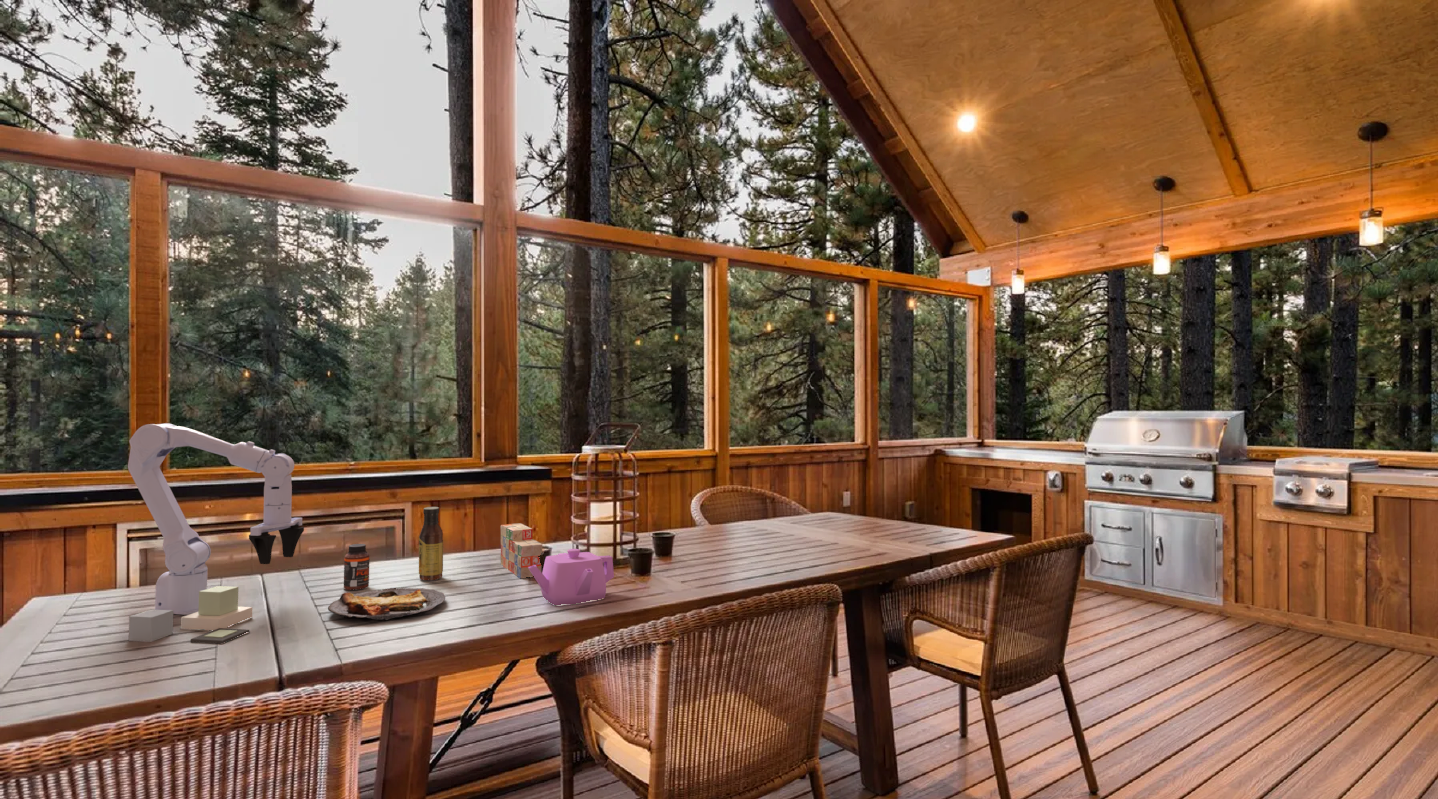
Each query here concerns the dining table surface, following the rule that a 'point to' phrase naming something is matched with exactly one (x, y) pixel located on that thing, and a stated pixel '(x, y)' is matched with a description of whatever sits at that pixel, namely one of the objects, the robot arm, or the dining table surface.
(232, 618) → the base block
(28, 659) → the dining table surface
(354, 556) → the supplement bottle
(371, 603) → the food plate
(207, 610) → the sage block
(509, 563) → the stack of blocks
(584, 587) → the teakettle
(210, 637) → the tile
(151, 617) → the grey block
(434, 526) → the sauce bottle
